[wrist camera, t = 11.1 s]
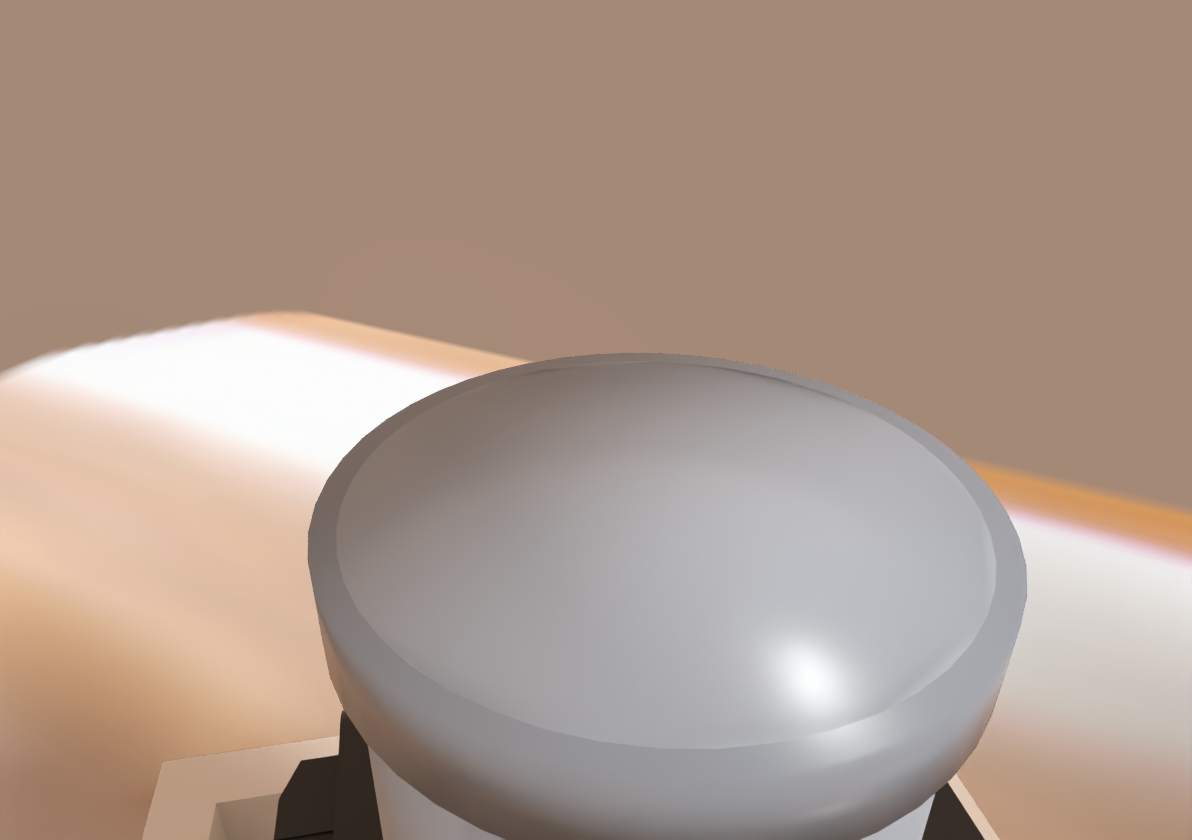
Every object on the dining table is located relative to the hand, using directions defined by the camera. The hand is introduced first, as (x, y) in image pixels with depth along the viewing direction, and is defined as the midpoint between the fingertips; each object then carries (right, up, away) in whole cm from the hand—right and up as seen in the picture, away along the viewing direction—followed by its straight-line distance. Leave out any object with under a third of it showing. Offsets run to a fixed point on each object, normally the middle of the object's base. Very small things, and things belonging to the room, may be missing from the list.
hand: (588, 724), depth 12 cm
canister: (+1, -7, +1) cm, 7 cm away
